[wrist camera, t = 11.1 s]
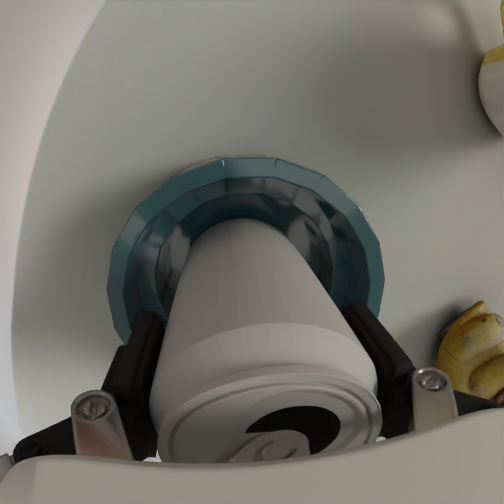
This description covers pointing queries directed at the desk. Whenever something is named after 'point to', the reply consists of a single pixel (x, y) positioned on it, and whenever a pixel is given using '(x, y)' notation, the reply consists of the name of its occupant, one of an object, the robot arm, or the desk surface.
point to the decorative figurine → (474, 353)
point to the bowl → (242, 206)
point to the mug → (493, 83)
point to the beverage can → (258, 357)
